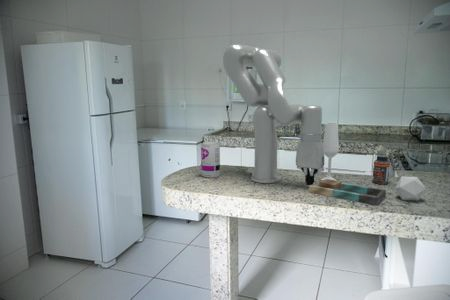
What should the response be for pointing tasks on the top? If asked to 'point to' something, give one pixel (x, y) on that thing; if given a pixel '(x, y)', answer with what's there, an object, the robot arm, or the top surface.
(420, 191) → the die
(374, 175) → the supplement bottle
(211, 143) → the supplement can
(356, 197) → the tray
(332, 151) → the champagne flute
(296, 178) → the top surface
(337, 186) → the walnut block
